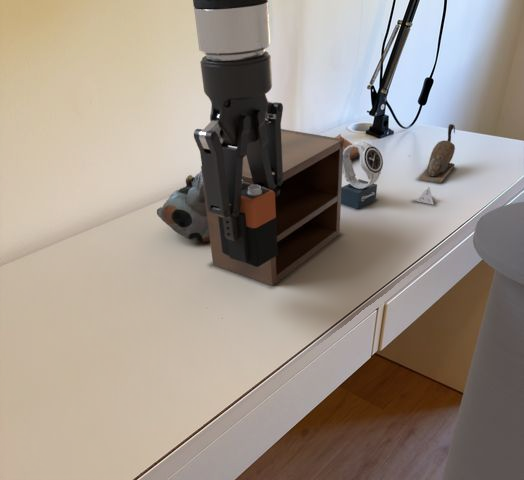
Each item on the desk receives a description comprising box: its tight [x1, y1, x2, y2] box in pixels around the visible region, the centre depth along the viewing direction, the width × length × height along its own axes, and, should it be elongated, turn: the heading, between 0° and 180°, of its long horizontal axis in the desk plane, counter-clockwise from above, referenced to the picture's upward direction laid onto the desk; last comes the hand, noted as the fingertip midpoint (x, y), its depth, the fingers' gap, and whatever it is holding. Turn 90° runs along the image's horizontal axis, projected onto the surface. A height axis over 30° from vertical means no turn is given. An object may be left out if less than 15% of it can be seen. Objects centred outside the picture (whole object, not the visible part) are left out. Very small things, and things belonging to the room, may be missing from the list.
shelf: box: [200, 128, 345, 286], centre depth 84 cm, size 12×20×16 cm, turn 143°
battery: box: [218, 180, 278, 267], centre depth 68 cm, size 4×7×10 cm, turn 48°
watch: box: [341, 141, 384, 210], centre depth 99 cm, size 6×8×11 cm
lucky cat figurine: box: [156, 170, 210, 243], centre depth 93 cm, size 15×12×14 cm
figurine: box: [419, 123, 456, 184], centre depth 110 cm, size 14×4×9 cm, turn 149°
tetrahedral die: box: [415, 186, 435, 206], centre depth 101 cm, size 4×3×3 cm
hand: (252, 250), depth 70 cm, fingers closed on battery, 5 cm apart
